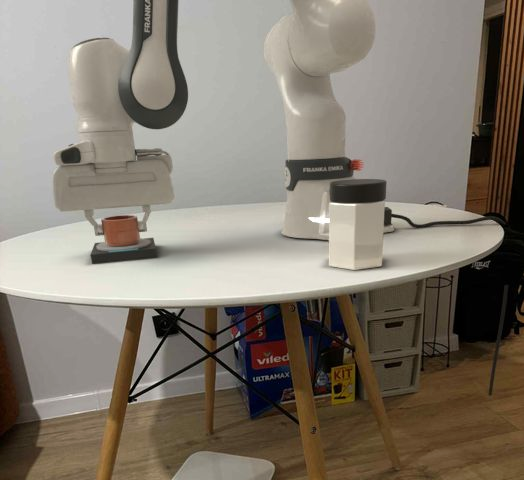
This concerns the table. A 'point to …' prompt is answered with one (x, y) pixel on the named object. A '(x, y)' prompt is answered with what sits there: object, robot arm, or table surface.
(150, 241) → the scale
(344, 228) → the jar
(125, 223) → the cup
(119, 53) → the robot arm
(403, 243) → the table surface
